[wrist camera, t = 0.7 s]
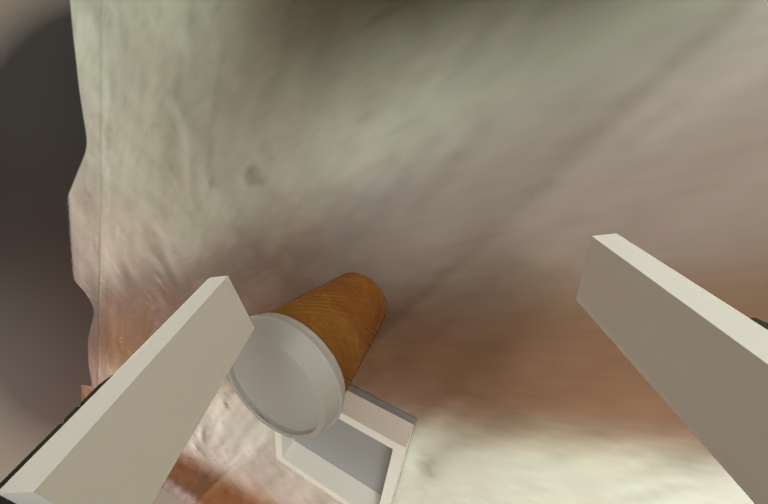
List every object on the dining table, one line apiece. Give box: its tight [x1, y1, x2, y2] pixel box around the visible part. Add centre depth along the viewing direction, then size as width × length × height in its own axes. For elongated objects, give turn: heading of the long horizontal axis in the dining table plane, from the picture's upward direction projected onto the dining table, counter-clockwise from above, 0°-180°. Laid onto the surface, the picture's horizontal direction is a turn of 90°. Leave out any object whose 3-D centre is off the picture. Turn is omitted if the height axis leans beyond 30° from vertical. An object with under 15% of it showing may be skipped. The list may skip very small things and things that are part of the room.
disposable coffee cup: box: [227, 273, 386, 440], centre depth 23 cm, size 10×10×12 cm
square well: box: [275, 385, 416, 504], centre depth 36 cm, size 17×17×4 cm
